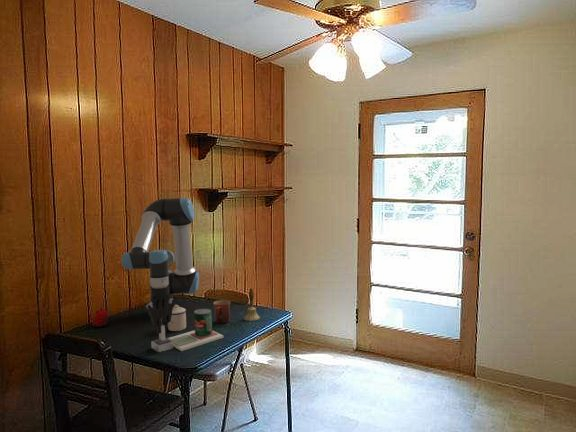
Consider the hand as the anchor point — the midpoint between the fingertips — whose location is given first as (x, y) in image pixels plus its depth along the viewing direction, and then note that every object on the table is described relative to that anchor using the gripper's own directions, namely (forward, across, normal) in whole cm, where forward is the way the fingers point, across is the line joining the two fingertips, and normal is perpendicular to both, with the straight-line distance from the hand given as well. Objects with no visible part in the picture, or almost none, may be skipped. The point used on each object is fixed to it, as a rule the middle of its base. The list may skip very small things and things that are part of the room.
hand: (162, 339), depth 180 cm
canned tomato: (+3, +20, -1) cm, 20 cm away
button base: (+4, 0, 0) cm, 4 cm away
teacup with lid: (+4, +16, +19) cm, 25 cm away
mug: (+4, +37, +9) cm, 38 cm away
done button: (+3, 0, 0) cm, 3 cm away
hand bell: (+4, +52, +3) cm, 52 cm away
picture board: (+4, +15, -1) cm, 15 cm away
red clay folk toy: (+4, -8, +51) cm, 52 cm away
